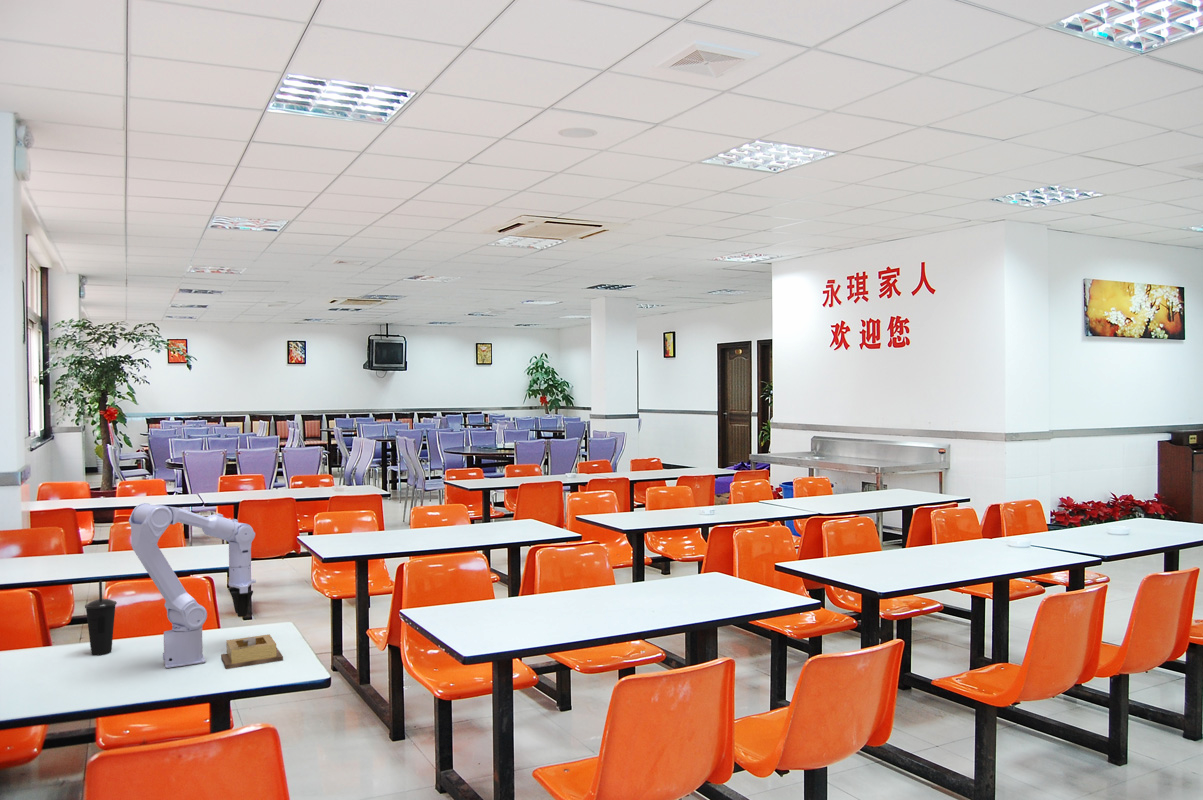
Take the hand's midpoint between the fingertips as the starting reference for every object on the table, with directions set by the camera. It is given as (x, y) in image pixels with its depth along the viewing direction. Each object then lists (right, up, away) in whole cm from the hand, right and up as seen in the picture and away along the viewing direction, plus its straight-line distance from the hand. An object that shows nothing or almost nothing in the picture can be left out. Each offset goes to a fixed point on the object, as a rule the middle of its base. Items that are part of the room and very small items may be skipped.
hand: (240, 614), depth 243 cm
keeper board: (+7, -9, -11) cm, 16 cm away
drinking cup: (-37, -10, -3) cm, 39 cm away
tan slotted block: (+7, -8, -11) cm, 15 cm away
